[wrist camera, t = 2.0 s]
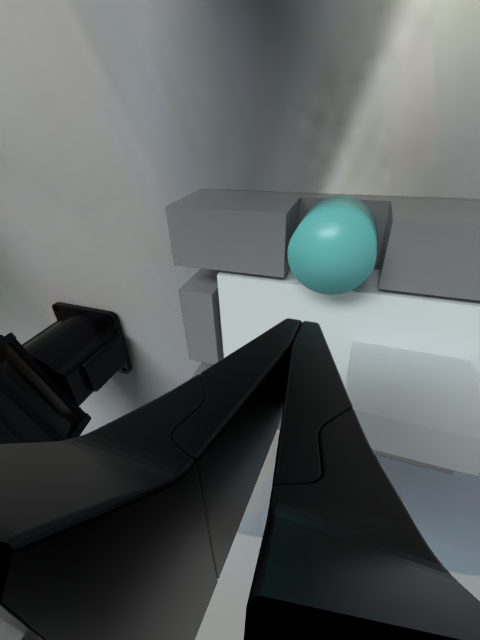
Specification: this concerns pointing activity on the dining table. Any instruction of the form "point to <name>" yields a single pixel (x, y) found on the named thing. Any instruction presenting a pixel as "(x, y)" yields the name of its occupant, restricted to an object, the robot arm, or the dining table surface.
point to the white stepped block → (381, 358)
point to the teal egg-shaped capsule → (334, 246)
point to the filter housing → (273, 240)
